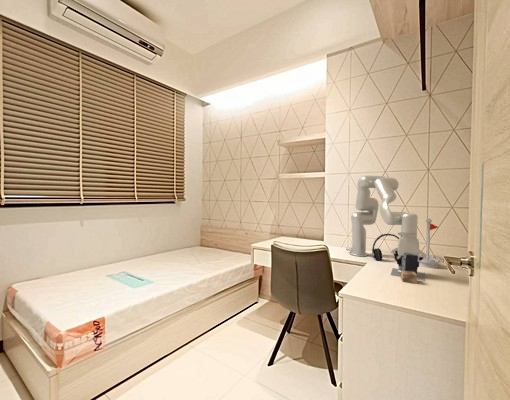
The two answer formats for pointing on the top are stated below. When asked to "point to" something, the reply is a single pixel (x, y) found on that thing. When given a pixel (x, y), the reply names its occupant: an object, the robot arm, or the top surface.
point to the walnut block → (409, 277)
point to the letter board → (398, 273)
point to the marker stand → (428, 260)
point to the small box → (409, 262)
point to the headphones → (377, 252)
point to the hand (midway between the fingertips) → (407, 266)
